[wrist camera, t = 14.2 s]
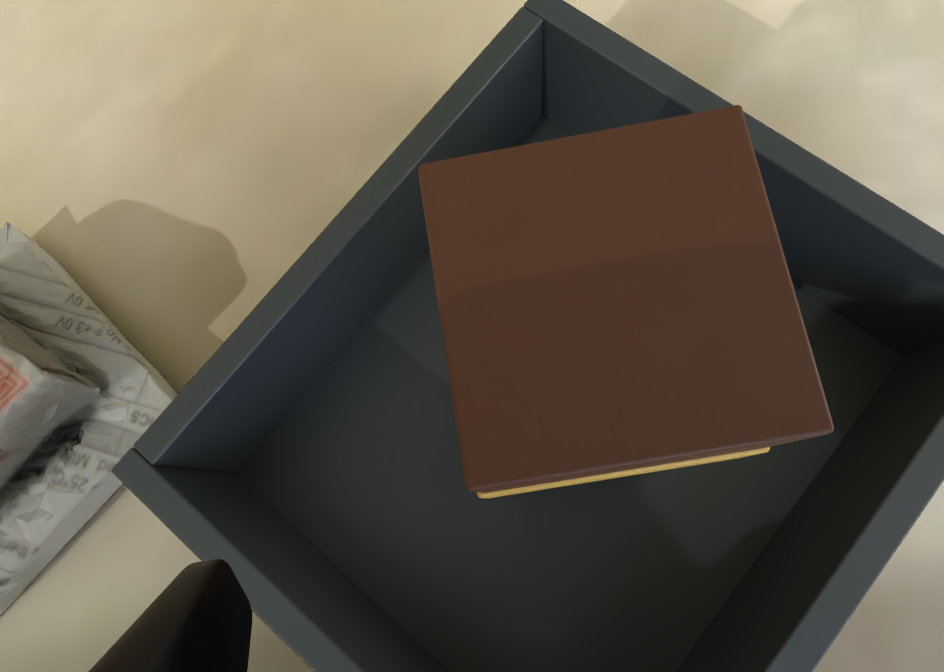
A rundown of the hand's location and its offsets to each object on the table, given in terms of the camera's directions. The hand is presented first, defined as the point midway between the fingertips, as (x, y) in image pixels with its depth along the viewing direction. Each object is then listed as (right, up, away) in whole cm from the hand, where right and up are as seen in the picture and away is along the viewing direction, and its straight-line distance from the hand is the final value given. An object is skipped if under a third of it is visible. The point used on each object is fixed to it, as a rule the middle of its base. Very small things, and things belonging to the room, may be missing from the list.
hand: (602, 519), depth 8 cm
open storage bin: (+1, -1, +14) cm, 14 cm away
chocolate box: (+1, 0, +13) cm, 13 cm away
